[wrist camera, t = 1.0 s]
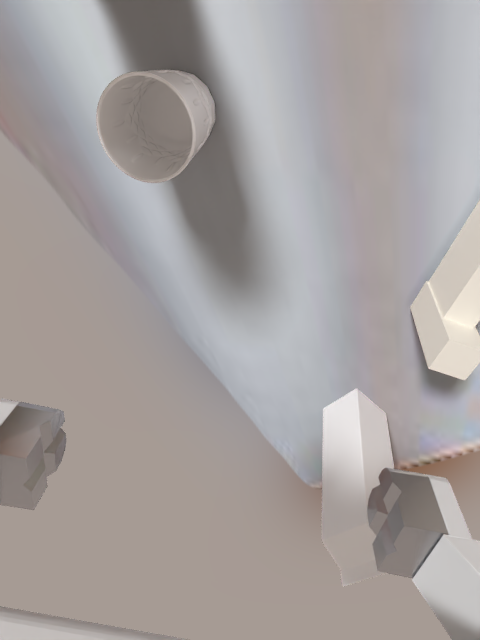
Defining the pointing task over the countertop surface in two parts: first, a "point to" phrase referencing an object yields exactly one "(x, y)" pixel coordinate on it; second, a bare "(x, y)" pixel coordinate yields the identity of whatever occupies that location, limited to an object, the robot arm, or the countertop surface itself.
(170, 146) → the white cup
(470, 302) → the cream l-shaped block
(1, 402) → the robot arm
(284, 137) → the countertop surface
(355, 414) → the milk
